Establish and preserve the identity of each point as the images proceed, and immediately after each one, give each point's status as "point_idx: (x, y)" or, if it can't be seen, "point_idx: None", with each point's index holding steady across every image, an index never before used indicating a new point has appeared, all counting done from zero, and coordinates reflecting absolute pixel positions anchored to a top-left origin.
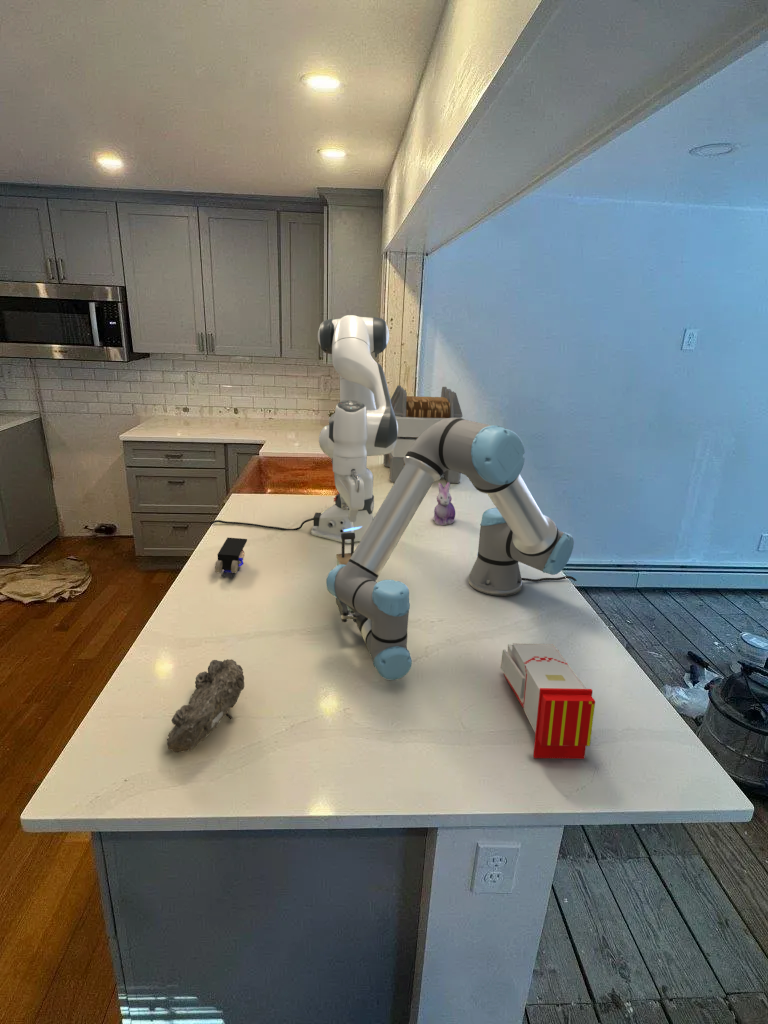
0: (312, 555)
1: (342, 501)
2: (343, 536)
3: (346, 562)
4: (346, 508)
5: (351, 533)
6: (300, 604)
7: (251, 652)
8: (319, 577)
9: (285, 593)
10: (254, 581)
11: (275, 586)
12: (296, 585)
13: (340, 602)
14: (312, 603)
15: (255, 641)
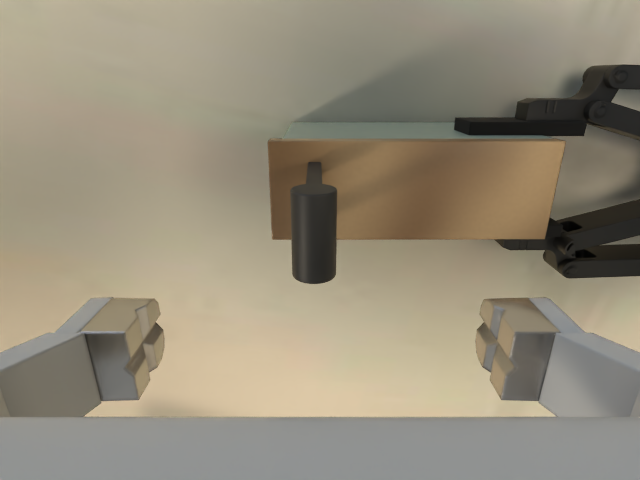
0: (17, 234)
1: (78, 405)
2: (333, 269)
3: (381, 212)
4: (152, 321)
5: (321, 219)
6: (389, 317)
7: None
8: (213, 237)
9: (312, 347)
10: (222, 414)
11: (262, 368)
12: (264, 314)
13: (633, 274)
14: (392, 285)
15: None
